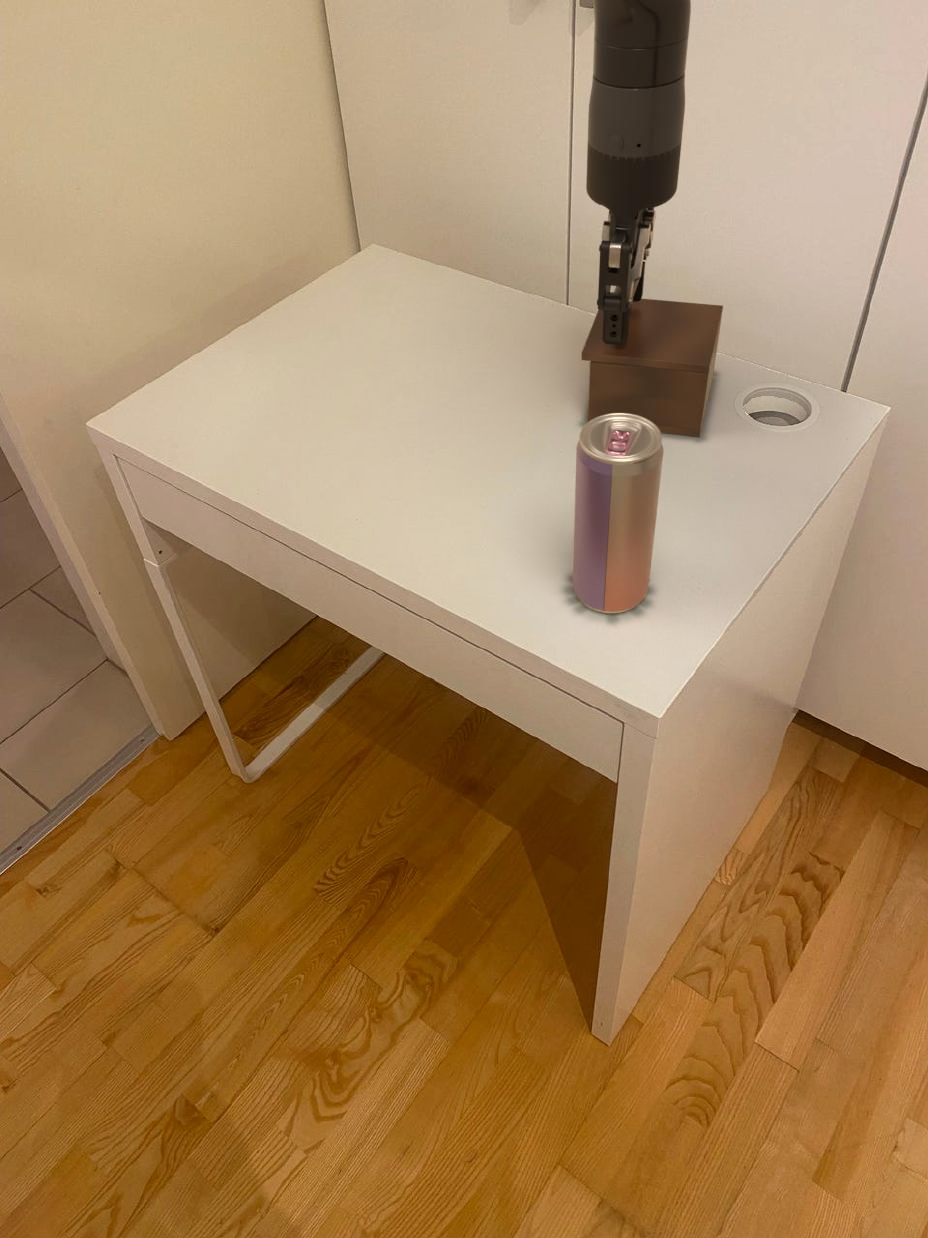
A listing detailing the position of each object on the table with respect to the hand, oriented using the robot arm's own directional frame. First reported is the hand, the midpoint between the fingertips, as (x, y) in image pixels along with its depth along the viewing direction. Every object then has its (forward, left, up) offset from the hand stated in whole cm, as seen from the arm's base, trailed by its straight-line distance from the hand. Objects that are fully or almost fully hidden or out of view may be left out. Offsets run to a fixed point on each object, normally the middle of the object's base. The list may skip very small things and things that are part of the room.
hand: (622, 319), depth 89 cm
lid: (-3, 0, -1) cm, 3 cm away
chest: (-3, 0, -8) cm, 9 cm away
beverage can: (-4, +27, -8) cm, 29 cm away
